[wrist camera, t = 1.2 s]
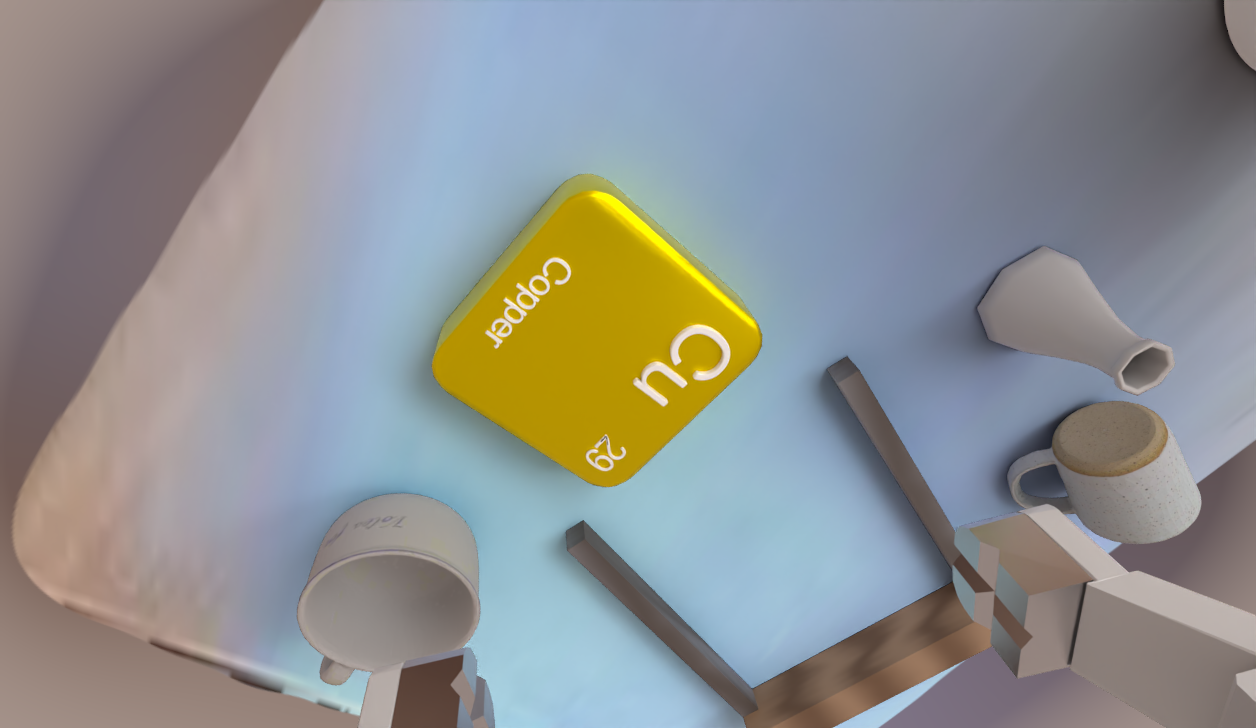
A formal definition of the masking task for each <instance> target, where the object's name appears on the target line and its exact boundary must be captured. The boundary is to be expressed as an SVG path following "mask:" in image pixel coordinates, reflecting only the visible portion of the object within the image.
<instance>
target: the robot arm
mask: <svg viewBox="0 0 1256 728" xmlns="http://www.w3.org/2000/svg"><path fill="white" fill-rule="evenodd" d="M1224 11H1225V19H1226V25H1227V29H1228V33H1229V36H1230V39H1231V41H1232V43H1233V46H1234V47H1235V49H1236V51H1237V53H1238V54H1239V55H1240V57H1241V58H1242V59H1243V60H1244V61H1245V62H1246V63H1247V64H1248V65H1249V66H1250V67H1251V68H1252V69H1254V70H1255V71H1256V0H1224ZM954 545H955V546H956V547H957V548H958V550H959V551H960V552H961V554H960V555H959V557H958V558H957V559H956V561H955V562H954V563H953V583H954V586H955V590H956V593H957V596H958V598H959V600H960V602H961V604H962V606H963V607H964V609H965V610H966V612H967V613H968V614H969V616H970V617H971V619H972V620H973V621H974V622H976V623H978V624H980V625H982V626H984V627H986V628H988V629H990V630H991V640H990V644H991V645H992V646H993V648H994V649H995V650H996V652H997V653H998V654H999V655H1000V657H1001V658H1002V659H1003V661H1004V662H1005V663H1006V665H1007V666H1008V667H1009V668H1010V670H1011V671H1012V672H1013V674H1014V675H1015V676H1016V678H1021V677H1026V676H1030V675H1035V674H1040V673H1044V672H1048V671H1053V670H1057V669H1062V668H1066V667H1071V668H1070V670H1072V671H1073V672H1075V673H1077V674H1078V675H1080V676H1082V677H1083V678H1085V679H1087V680H1088V681H1090V682H1092V683H1093V684H1095V685H1096V686H1098V687H1100V688H1101V689H1103V690H1105V691H1106V692H1108V693H1110V694H1111V695H1113V696H1115V697H1116V698H1118V699H1120V700H1121V701H1123V702H1125V703H1126V704H1128V705H1129V706H1131V707H1133V708H1134V709H1136V710H1138V711H1139V712H1141V713H1143V714H1144V715H1146V716H1148V717H1149V718H1151V719H1153V720H1154V721H1156V722H1157V723H1159V724H1161V725H1163V726H1164V727H1166V728H1256V615H1254V614H1251V613H1249V612H1246V611H1243V610H1241V609H1238V608H1235V607H1232V606H1230V605H1227V604H1225V603H1222V602H1220V601H1217V600H1214V599H1212V598H1209V597H1206V596H1204V595H1201V594H1198V593H1196V592H1193V591H1191V590H1188V589H1185V588H1182V587H1180V586H1177V585H1174V584H1172V583H1169V582H1167V581H1164V580H1161V579H1159V578H1156V577H1154V576H1151V575H1148V574H1146V573H1143V572H1140V571H1135V572H1128V571H1126V570H1125V569H1124V568H1123V567H1122V566H1121V565H1120V564H1119V563H1118V562H1116V561H1115V560H1114V559H1113V558H1112V557H1111V556H1110V555H1109V554H1107V553H1106V552H1105V551H1104V550H1103V549H1102V548H1101V547H1100V546H1098V545H1097V544H1096V543H1095V542H1094V541H1093V540H1092V539H1091V538H1090V537H1088V536H1087V535H1086V534H1085V533H1084V532H1083V531H1082V530H1081V529H1079V528H1078V527H1077V526H1076V525H1075V524H1074V523H1073V522H1072V521H1070V520H1069V519H1068V518H1067V517H1066V516H1065V515H1064V514H1063V513H1062V512H1060V511H1059V510H1058V509H1057V508H1056V507H1054V506H1051V505H1049V504H1045V505H1041V506H1037V507H1033V508H1029V509H1025V510H1021V511H1018V512H1012V513H1008V514H1004V515H1000V516H996V517H992V518H989V519H985V520H981V521H977V522H973V523H969V524H965V525H961V526H959V527H958V529H957V530H956V532H955V539H954ZM357 728H495V719H494V710H493V702H492V698H491V694H490V691H489V688H488V685H487V683H486V681H485V679H483V678H481V677H479V676H477V660H476V658H475V655H474V653H473V651H472V649H471V648H462V649H457V650H453V651H448V652H444V653H439V654H435V655H430V656H425V657H421V658H416V659H412V660H407V661H404V662H400V663H396V664H391V665H387V666H382V667H378V668H375V669H374V671H373V672H372V674H371V676H370V677H369V679H368V684H367V688H366V692H365V697H364V701H363V705H362V709H361V714H360V718H359V722H358V727H357Z"/></svg>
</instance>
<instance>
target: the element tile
mask: <svg viewBox="0 0 1256 728" xmlns="http://www.w3.org/2000/svg"><path fill="white" fill-rule="evenodd" d="M761 347H762V333H761V330H760V328H759V325H758V323H757V322H756V320H755V319H754V317H753V316H752V314H751V313H750V312H749V310H748V309H747V307H746V306H745V304H744V303H743V301H742V300H741V298H740V297H739V296H738V295H737V294H736V293H735V292H734V291H733V290H731V289H730V288H729V287H728V286H727V285H726V284H725V283H724V282H722V281H721V280H720V279H719V278H718V277H717V276H716V275H715V274H714V273H712V272H711V271H710V270H709V269H708V268H707V267H706V266H705V265H703V264H702V263H701V262H700V261H699V260H698V259H697V258H696V257H694V256H693V255H692V254H691V253H690V252H689V251H688V250H687V249H685V248H684V247H683V246H682V245H681V244H680V243H679V242H678V241H676V240H675V239H674V238H673V237H672V236H671V235H670V234H669V233H667V232H666V231H665V230H664V229H663V228H662V227H661V226H660V225H658V224H657V223H656V222H655V221H654V220H653V219H652V218H651V217H650V216H648V215H647V214H646V213H645V212H644V211H643V210H642V209H641V208H639V207H638V206H637V205H636V204H635V203H634V202H633V201H632V200H630V199H629V198H628V197H627V196H626V195H625V194H624V193H623V192H621V191H620V190H619V189H618V188H617V187H616V186H615V185H614V184H612V183H611V182H609V181H608V180H606V179H604V178H602V177H599V176H596V175H593V174H581V175H577V176H575V177H573V178H571V179H569V180H567V181H566V182H564V183H563V184H562V185H561V186H560V187H559V188H558V189H557V190H556V191H555V192H554V193H553V195H552V196H551V197H550V198H549V199H548V200H547V202H546V203H545V204H544V205H543V206H542V208H541V209H540V210H539V211H538V212H537V213H536V215H535V216H534V217H533V218H532V219H531V221H530V222H529V223H528V224H527V225H526V226H525V228H524V229H523V230H522V231H521V232H520V234H519V235H518V236H517V237H516V238H515V239H514V241H513V242H512V243H511V244H510V245H509V247H508V248H507V249H506V250H505V251H504V252H503V254H502V255H501V256H500V257H499V258H498V260H497V261H496V262H495V263H494V264H493V265H492V267H491V268H490V269H489V270H488V271H487V273H486V274H485V275H484V276H483V277H482V278H481V280H480V281H479V282H478V283H477V284H476V286H475V287H474V288H473V289H472V290H471V291H470V293H469V294H468V295H467V296H466V297H465V299H464V300H463V301H462V302H461V303H460V304H459V306H458V307H457V308H456V309H455V310H454V312H453V313H452V314H451V315H450V316H449V317H448V319H447V320H446V321H445V323H444V325H443V327H442V329H441V333H440V336H439V339H438V343H437V346H436V350H435V353H434V357H433V361H432V370H433V375H434V378H435V379H436V380H437V382H438V383H439V385H440V386H441V387H442V388H443V389H444V390H445V391H446V392H447V393H449V394H450V395H452V396H453V397H455V398H457V399H458V400H460V401H461V402H463V403H464V404H466V405H467V406H469V407H471V408H472V409H474V410H475V411H477V412H478V413H480V414H481V415H483V416H485V417H486V418H488V419H489V420H491V421H492V422H494V423H496V424H497V425H499V426H500V427H502V428H503V429H505V430H506V431H508V432H510V433H511V434H513V435H514V436H516V437H517V438H519V439H521V440H522V441H524V442H525V443H527V444H528V445H530V446H531V447H533V448H535V449H536V450H538V451H539V452H541V453H542V454H544V455H545V456H547V457H549V458H550V459H552V460H553V461H555V462H556V463H558V464H560V465H561V466H563V467H564V468H566V469H567V470H569V471H570V472H572V473H574V474H575V475H577V476H578V477H580V478H581V479H583V480H585V481H586V482H588V483H590V484H593V485H596V486H601V487H612V486H617V485H619V484H621V483H623V482H626V481H627V480H628V479H630V478H631V477H633V476H634V475H635V474H636V473H637V472H638V471H639V470H640V469H641V468H642V467H643V466H644V465H645V464H646V463H647V462H648V461H650V460H651V459H652V458H653V457H654V456H655V455H656V454H657V453H658V452H659V451H660V450H661V449H662V448H663V447H664V446H665V445H666V444H667V443H668V442H669V441H671V440H672V439H673V438H674V437H675V436H676V435H677V434H678V433H679V432H680V431H681V430H682V429H683V428H684V427H685V426H686V425H687V424H688V423H689V422H691V421H692V420H693V419H694V418H695V417H696V416H697V415H698V414H699V413H700V412H701V411H702V410H703V409H704V408H705V407H706V406H707V405H708V404H709V403H711V402H712V401H713V400H714V399H715V398H716V397H717V396H718V395H719V394H720V393H721V392H722V391H723V390H724V389H725V388H726V387H727V386H728V385H729V384H731V383H732V382H733V381H734V380H735V379H736V378H737V377H738V376H739V375H740V374H741V373H742V372H743V371H744V370H745V369H746V368H747V367H748V366H749V365H750V364H751V363H752V362H753V361H754V359H755V358H756V357H757V355H758V353H759V351H760V349H761Z"/></svg>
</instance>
